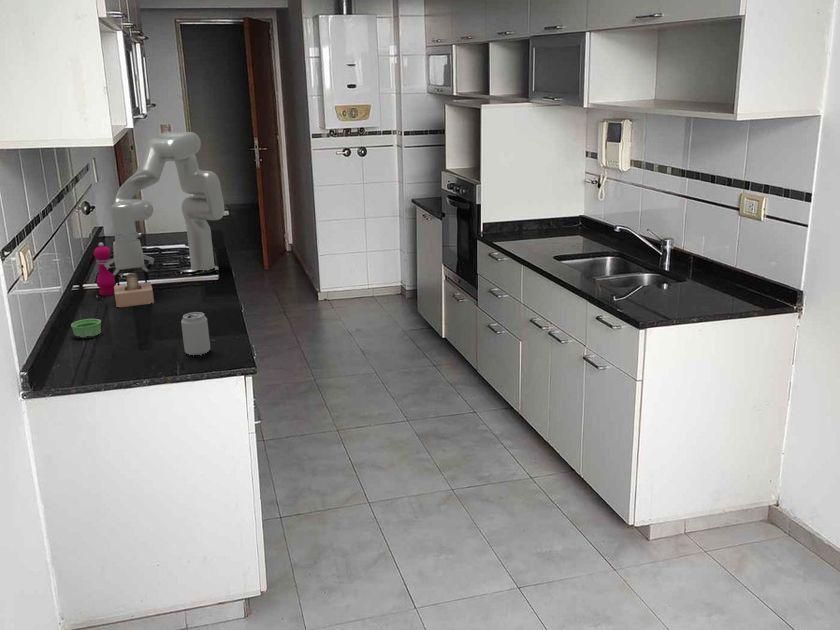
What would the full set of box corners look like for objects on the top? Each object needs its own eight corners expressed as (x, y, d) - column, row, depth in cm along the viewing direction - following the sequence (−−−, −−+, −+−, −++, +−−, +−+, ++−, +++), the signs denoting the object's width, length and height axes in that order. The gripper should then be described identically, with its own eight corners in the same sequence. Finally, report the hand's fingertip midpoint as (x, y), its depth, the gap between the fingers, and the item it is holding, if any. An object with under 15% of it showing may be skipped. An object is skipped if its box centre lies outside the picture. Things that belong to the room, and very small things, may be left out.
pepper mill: (115, 289, 314) (108, 239, 308) (120, 293, 308) (112, 242, 302) (96, 293, 310) (88, 242, 304) (100, 297, 304) (92, 245, 298)
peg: (129, 300, 299) (125, 274, 296) (140, 298, 300) (136, 272, 297) (129, 303, 295) (125, 276, 292) (141, 301, 296) (137, 275, 293)
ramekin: (108, 331, 263) (106, 319, 262) (92, 340, 255) (90, 327, 254) (83, 330, 265) (81, 318, 264) (67, 339, 257) (65, 326, 255)
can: (190, 348, 245) (186, 310, 241) (214, 348, 244) (210, 310, 241) (181, 356, 238) (176, 318, 234) (205, 357, 237) (201, 318, 234)
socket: (115, 298, 301) (113, 285, 300) (152, 294, 306) (150, 281, 304) (116, 307, 289) (114, 294, 288) (154, 303, 294) (152, 290, 292)
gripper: (150, 233, 297) (156, 278, 302) (100, 238, 291) (107, 283, 296) (151, 237, 290) (157, 282, 295) (100, 241, 284) (107, 288, 289)
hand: (132, 283), depth 295 cm, fingers open, 9 cm apart
